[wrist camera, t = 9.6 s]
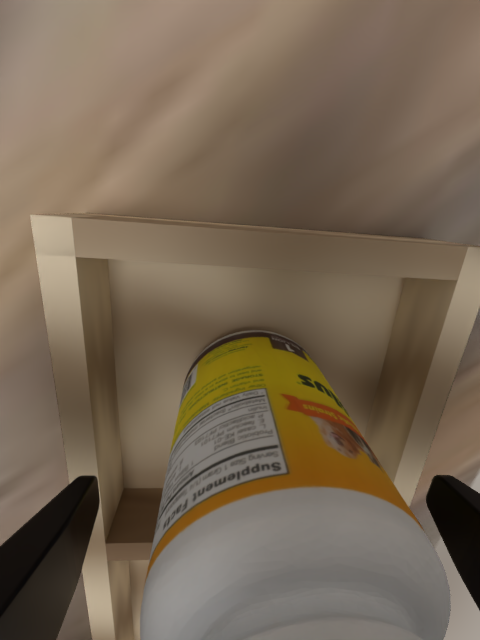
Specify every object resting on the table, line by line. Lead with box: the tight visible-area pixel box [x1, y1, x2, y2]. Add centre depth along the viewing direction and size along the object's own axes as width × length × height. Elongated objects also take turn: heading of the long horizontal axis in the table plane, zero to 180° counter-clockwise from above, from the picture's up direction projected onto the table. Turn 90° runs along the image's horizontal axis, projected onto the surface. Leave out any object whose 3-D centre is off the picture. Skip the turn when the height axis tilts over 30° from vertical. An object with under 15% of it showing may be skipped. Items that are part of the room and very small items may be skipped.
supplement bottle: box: [140, 330, 450, 640], centre depth 8 cm, size 6×6×10 cm
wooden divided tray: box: [30, 213, 480, 640], centre depth 14 cm, size 25×13×4 cm, turn 176°
